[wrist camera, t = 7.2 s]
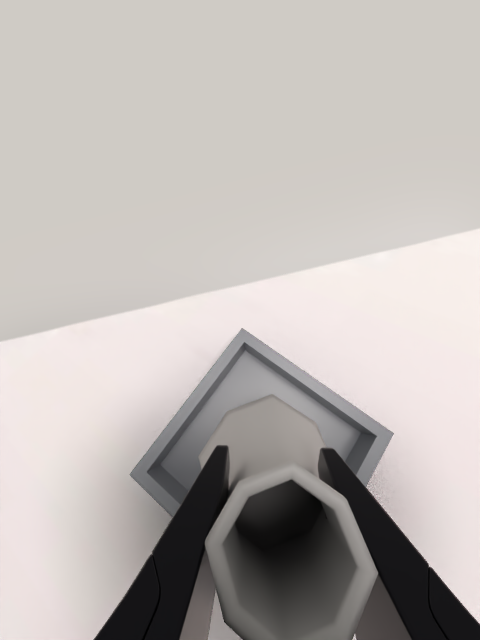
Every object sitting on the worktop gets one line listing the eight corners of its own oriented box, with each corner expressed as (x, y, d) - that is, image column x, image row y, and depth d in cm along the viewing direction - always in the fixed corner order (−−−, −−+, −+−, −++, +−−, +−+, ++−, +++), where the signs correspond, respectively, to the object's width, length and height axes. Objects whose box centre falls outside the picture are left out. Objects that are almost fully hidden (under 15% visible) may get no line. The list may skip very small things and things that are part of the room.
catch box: (282, 591, 18) (289, 632, 14) (149, 464, 21) (129, 474, 17) (371, 429, 21) (393, 433, 17) (243, 339, 24) (242, 328, 20)
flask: (362, 479, 14) (579, 608, 5) (257, 582, 13) (267, 1046, 3) (273, 373, 16) (300, 315, 7) (177, 452, 15) (46, 516, 6)
